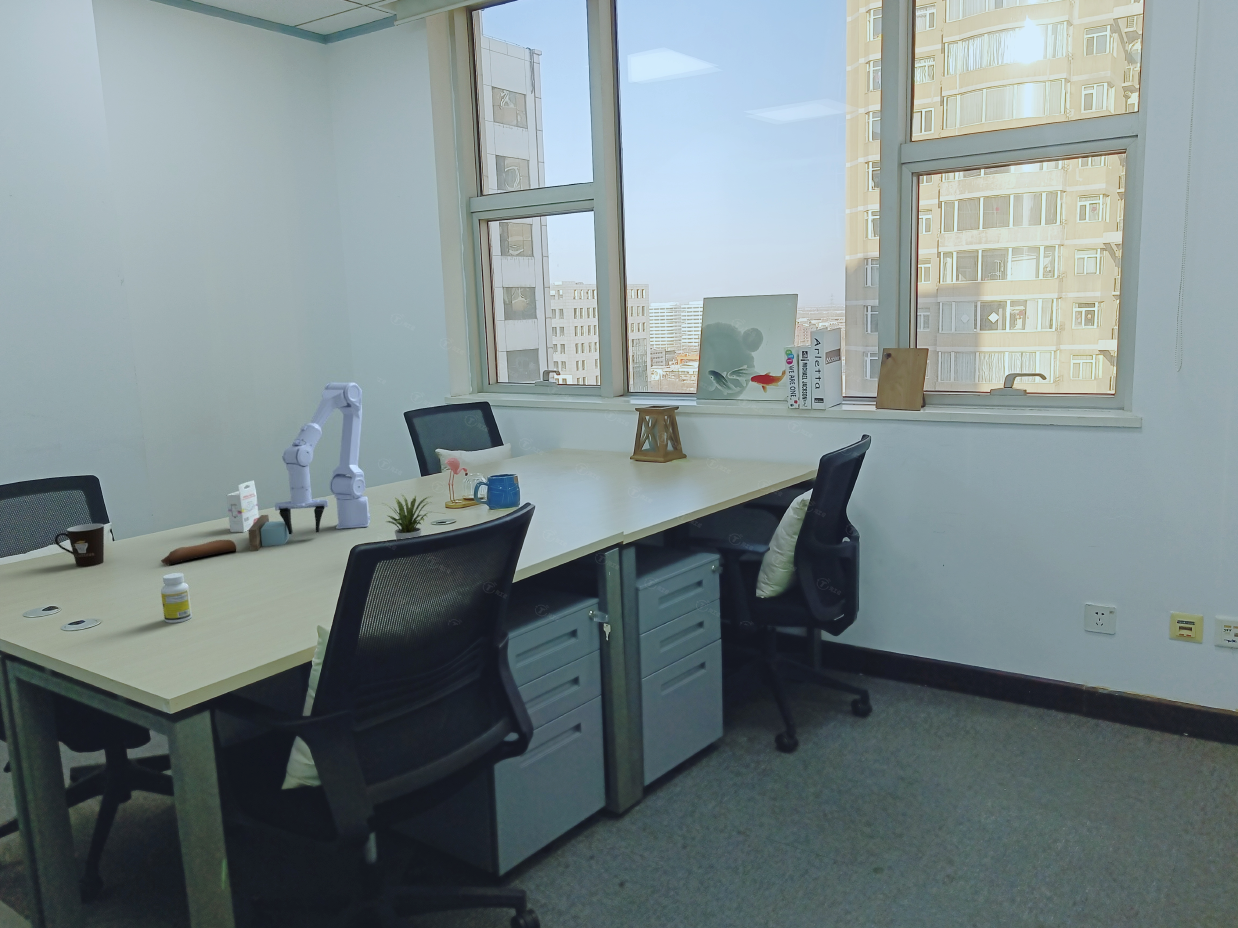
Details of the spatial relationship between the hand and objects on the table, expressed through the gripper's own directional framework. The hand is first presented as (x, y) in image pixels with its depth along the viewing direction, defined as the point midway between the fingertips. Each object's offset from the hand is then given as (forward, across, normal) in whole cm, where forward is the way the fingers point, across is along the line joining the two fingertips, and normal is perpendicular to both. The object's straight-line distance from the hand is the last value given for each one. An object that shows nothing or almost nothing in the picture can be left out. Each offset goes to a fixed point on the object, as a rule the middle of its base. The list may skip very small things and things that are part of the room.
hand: (304, 532), depth 268 cm
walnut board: (+2, -12, 0) cm, 12 cm away
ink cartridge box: (+2, -20, +20) cm, 29 cm away
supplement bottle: (+2, -17, -69) cm, 71 cm away
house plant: (+2, +32, -26) cm, 41 cm away
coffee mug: (+2, -55, -10) cm, 56 cm away
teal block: (+2, -8, 0) cm, 8 cm away
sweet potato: (+3, -26, -12) cm, 29 cm away
